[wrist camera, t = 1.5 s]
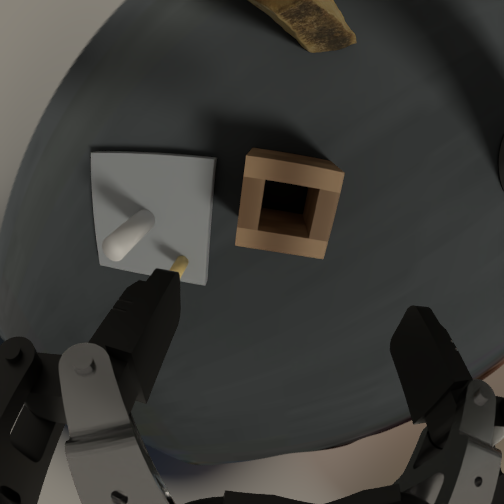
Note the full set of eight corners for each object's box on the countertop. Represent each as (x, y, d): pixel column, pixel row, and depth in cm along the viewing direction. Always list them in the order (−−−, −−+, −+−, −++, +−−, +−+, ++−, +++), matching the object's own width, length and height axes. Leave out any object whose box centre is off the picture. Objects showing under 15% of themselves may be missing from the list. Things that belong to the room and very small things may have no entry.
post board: (216, 157, 22) (192, 174, 16) (207, 279, 27) (189, 327, 21) (96, 151, 22) (48, 167, 16) (104, 260, 28) (70, 296, 21)
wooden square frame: (330, 161, 21) (344, 172, 17) (315, 231, 24) (323, 259, 20) (252, 147, 21) (246, 155, 17) (243, 220, 24) (235, 245, 20)
